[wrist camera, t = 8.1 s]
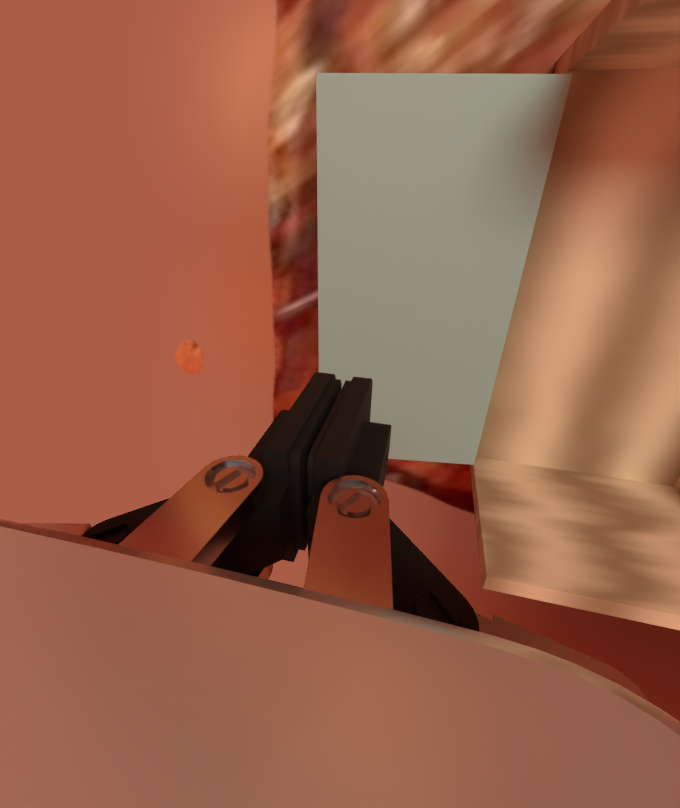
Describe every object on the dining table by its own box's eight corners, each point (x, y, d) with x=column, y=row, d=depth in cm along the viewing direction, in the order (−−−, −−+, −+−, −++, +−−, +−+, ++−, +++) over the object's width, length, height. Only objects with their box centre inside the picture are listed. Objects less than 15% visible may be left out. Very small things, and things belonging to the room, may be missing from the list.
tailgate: (572, 74, 16) (316, 73, 16) (474, 464, 26) (319, 453, 27) (552, 85, 17) (322, 84, 18) (467, 446, 28) (323, 436, 28)
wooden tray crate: (910, 48, 16) (1921, -255, 5) (664, 472, 28) (810, 657, 17) (556, 60, 19) (722, -122, 8) (467, 443, 30) (482, 588, 19)
